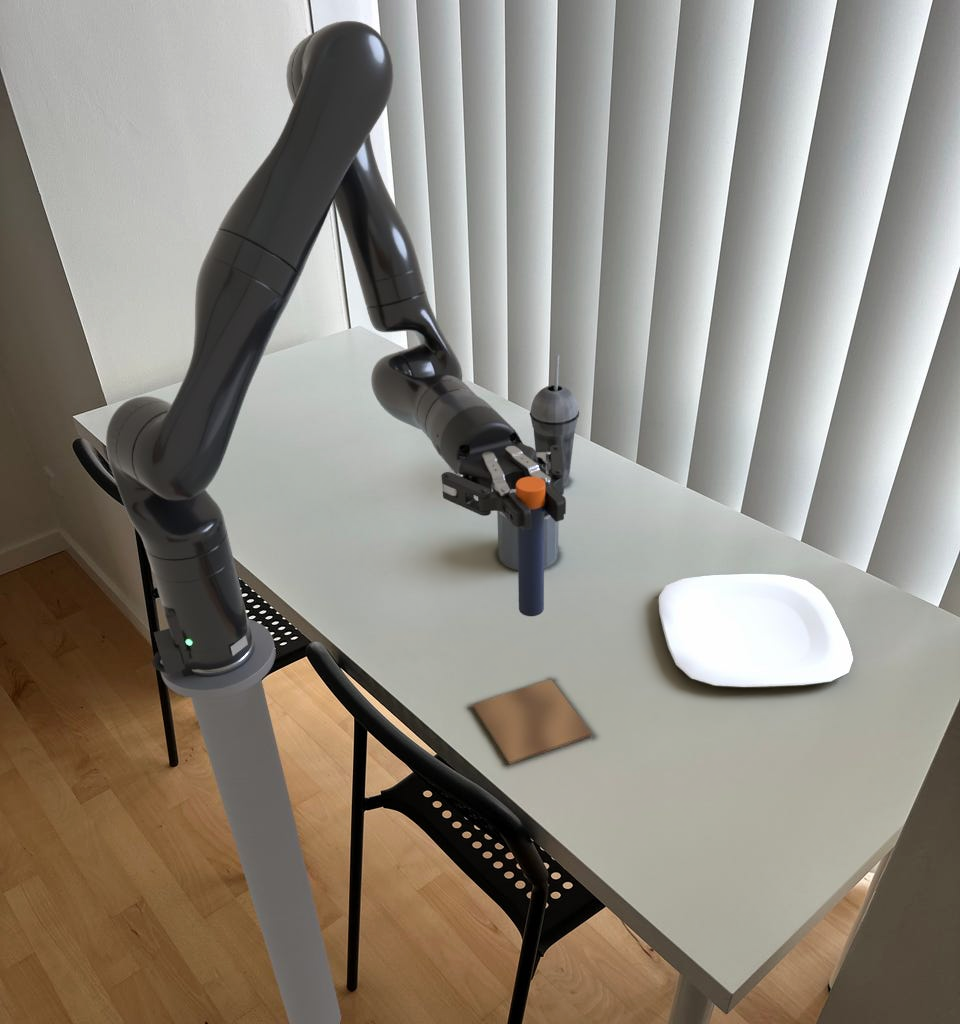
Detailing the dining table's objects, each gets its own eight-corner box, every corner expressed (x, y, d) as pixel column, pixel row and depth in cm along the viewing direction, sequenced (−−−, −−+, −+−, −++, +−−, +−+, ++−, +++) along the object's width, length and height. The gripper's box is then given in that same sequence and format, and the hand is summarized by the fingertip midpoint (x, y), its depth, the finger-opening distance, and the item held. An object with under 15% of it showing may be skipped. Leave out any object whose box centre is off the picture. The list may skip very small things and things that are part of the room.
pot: (513, 577, 132) (512, 527, 127) (489, 546, 138) (487, 498, 133) (567, 562, 134) (569, 512, 129) (541, 532, 140) (541, 484, 135)
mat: (509, 764, 106) (509, 761, 105) (472, 707, 113) (472, 704, 113) (591, 736, 109) (591, 733, 108) (550, 682, 116) (550, 678, 115)
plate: (866, 692, 113) (869, 681, 111) (677, 698, 113) (678, 687, 112) (813, 580, 129) (816, 570, 128) (649, 586, 130) (650, 576, 128)
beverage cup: (523, 490, 149) (523, 366, 137) (537, 467, 155) (537, 345, 142) (570, 496, 147) (573, 371, 135) (582, 473, 153) (586, 350, 140)
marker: (524, 620, 101) (523, 494, 91) (513, 605, 103) (510, 480, 93) (549, 612, 101) (550, 487, 92) (537, 597, 103) (537, 473, 94)
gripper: (407, 420, 99) (474, 501, 87) (531, 391, 103) (612, 464, 91) (413, 484, 104) (477, 569, 92) (531, 454, 108) (608, 531, 96)
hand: (544, 516), depth 92 cm, fingers closed on marker, 3 cm apart
